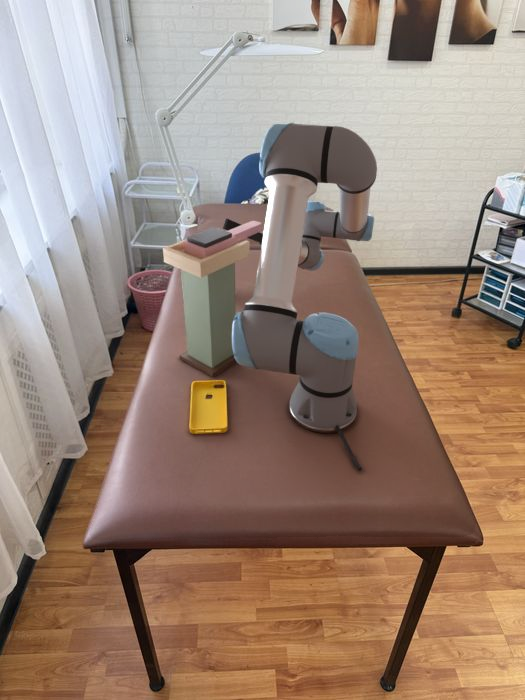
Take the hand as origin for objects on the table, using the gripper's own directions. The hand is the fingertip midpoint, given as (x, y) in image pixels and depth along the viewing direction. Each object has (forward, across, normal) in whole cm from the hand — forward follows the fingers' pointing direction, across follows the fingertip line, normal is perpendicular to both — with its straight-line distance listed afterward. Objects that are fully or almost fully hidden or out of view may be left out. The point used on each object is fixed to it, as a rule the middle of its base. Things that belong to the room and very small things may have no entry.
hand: (245, 230), depth 124 cm
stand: (-4, 0, -34) cm, 34 cm away
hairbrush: (+6, 0, -5) cm, 7 cm away
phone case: (+9, -14, -41) cm, 44 cm away
